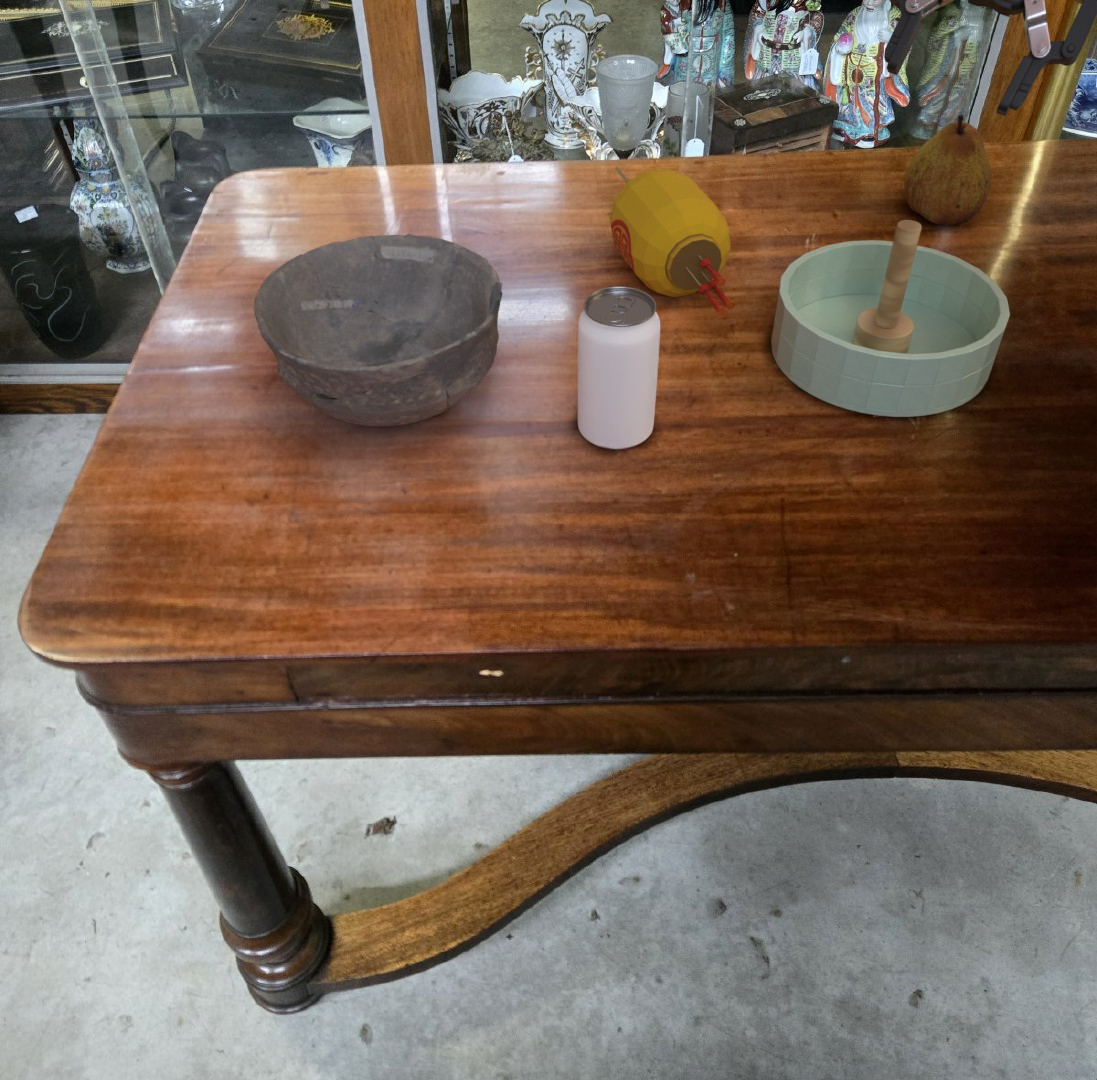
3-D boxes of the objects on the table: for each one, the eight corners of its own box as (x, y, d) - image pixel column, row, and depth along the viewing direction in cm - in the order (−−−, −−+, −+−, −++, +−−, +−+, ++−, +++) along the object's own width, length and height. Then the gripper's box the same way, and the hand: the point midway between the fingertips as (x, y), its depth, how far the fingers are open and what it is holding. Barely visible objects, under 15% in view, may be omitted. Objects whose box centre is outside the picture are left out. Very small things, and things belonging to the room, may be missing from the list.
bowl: (226, 406, 91) (198, 307, 84) (388, 304, 103) (375, 210, 96) (398, 499, 82) (382, 397, 75) (555, 376, 94) (553, 278, 87)
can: (566, 441, 87) (565, 318, 79) (592, 398, 91) (595, 277, 83) (639, 459, 85) (646, 335, 77) (663, 414, 90) (672, 292, 81)
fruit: (942, 190, 119) (971, 82, 110) (997, 224, 113) (1031, 113, 104) (880, 205, 116) (904, 96, 108) (933, 241, 110) (962, 129, 102)
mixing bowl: (1008, 325, 99) (1027, 268, 94) (964, 441, 86) (985, 382, 82) (807, 278, 105) (817, 223, 101) (741, 380, 93) (749, 322, 89)
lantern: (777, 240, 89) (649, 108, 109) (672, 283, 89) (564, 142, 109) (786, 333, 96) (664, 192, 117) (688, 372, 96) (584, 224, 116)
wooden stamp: (913, 338, 96) (946, 218, 88) (900, 367, 93) (933, 244, 85) (860, 325, 98) (887, 206, 89) (845, 353, 95) (872, 231, 86)
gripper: (964, -203, 69) (850, 46, 75) (1179, -140, 66) (1042, 117, 71) (965, -155, 76) (861, 70, 81) (1160, -95, 72) (1037, 136, 78)
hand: (945, 92), depth 76 cm, fingers open, 8 cm apart
